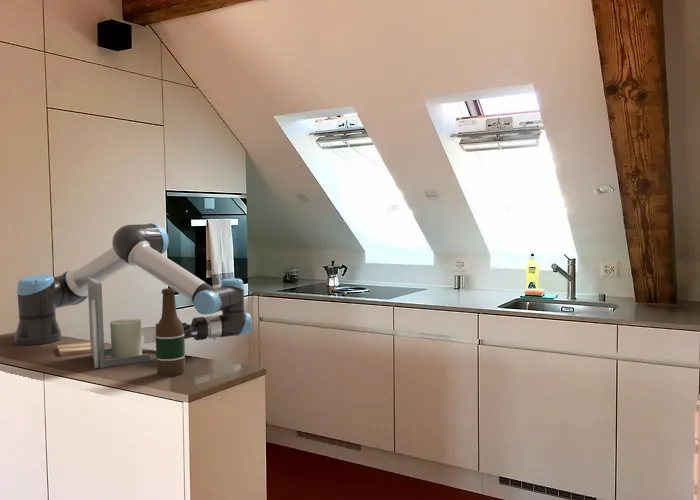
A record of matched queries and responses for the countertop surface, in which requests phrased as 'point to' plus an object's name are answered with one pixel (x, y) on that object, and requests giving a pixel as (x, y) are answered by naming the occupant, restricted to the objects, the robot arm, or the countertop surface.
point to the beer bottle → (170, 338)
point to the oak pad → (74, 348)
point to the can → (126, 338)
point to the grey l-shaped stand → (98, 332)
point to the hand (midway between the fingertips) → (139, 335)
